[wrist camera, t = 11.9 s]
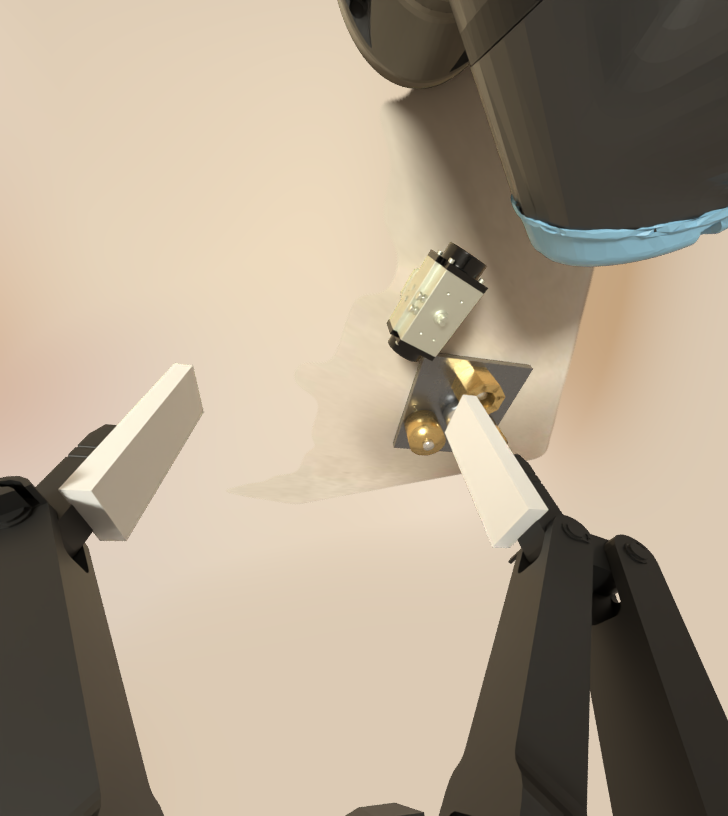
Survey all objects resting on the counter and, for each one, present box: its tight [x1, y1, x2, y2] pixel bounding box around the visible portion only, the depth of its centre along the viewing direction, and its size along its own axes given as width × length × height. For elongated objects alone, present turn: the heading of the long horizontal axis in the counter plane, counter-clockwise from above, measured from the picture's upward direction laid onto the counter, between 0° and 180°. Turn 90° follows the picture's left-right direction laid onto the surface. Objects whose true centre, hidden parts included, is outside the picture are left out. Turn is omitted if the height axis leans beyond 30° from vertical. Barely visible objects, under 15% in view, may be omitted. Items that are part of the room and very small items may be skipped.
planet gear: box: [451, 366, 505, 414], centre depth 44 cm, size 6×6×5 cm
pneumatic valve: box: [387, 242, 488, 362], centre depth 32 cm, size 6×12×12 cm, turn 151°
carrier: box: [393, 353, 533, 455], centre depth 47 cm, size 20×18×7 cm
